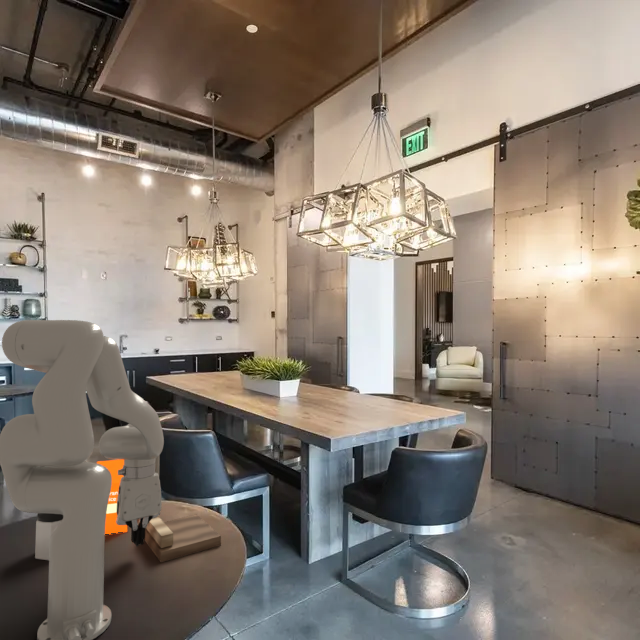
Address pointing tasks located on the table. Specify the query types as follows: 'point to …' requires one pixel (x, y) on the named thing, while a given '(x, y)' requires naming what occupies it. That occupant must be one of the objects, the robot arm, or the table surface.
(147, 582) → the table surface
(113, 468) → the orange juice
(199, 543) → the stool top
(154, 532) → the hinged leg
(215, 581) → the table surface
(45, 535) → the jar
